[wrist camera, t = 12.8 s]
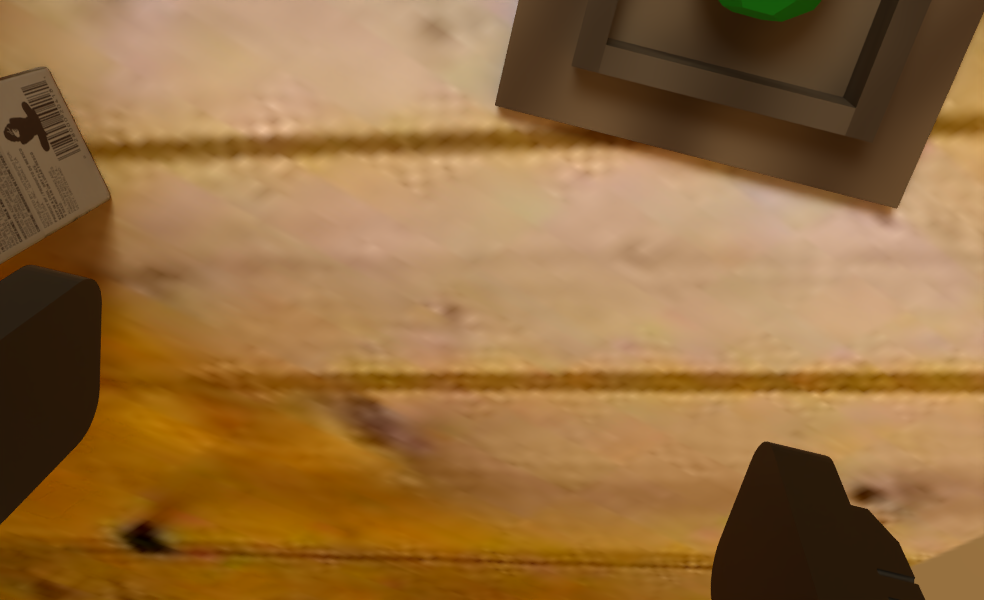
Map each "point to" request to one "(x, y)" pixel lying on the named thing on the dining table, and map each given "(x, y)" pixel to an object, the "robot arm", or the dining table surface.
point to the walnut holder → (749, 82)
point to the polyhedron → (771, 8)
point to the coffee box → (41, 163)
